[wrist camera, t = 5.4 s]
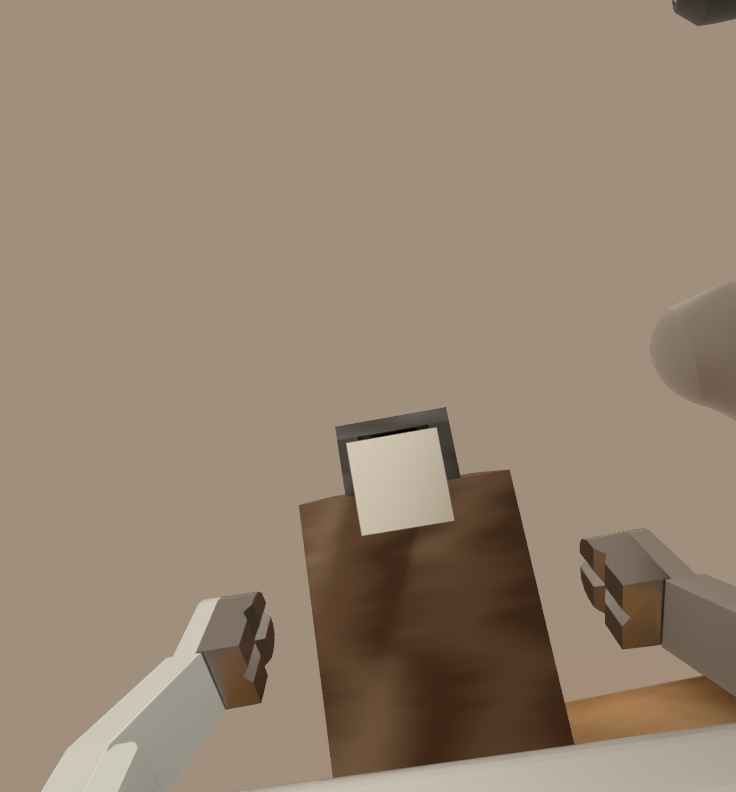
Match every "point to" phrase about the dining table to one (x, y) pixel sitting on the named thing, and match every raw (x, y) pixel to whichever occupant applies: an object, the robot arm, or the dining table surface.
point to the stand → (429, 624)
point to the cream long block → (399, 481)
